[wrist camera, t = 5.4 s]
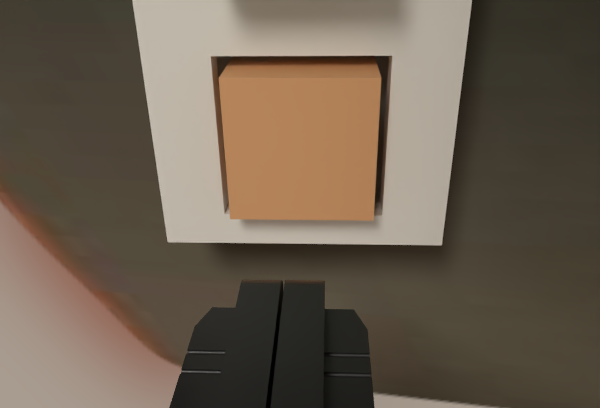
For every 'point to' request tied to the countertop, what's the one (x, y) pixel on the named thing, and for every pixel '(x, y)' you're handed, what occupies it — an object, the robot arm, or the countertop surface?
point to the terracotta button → (301, 136)
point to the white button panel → (305, 42)
